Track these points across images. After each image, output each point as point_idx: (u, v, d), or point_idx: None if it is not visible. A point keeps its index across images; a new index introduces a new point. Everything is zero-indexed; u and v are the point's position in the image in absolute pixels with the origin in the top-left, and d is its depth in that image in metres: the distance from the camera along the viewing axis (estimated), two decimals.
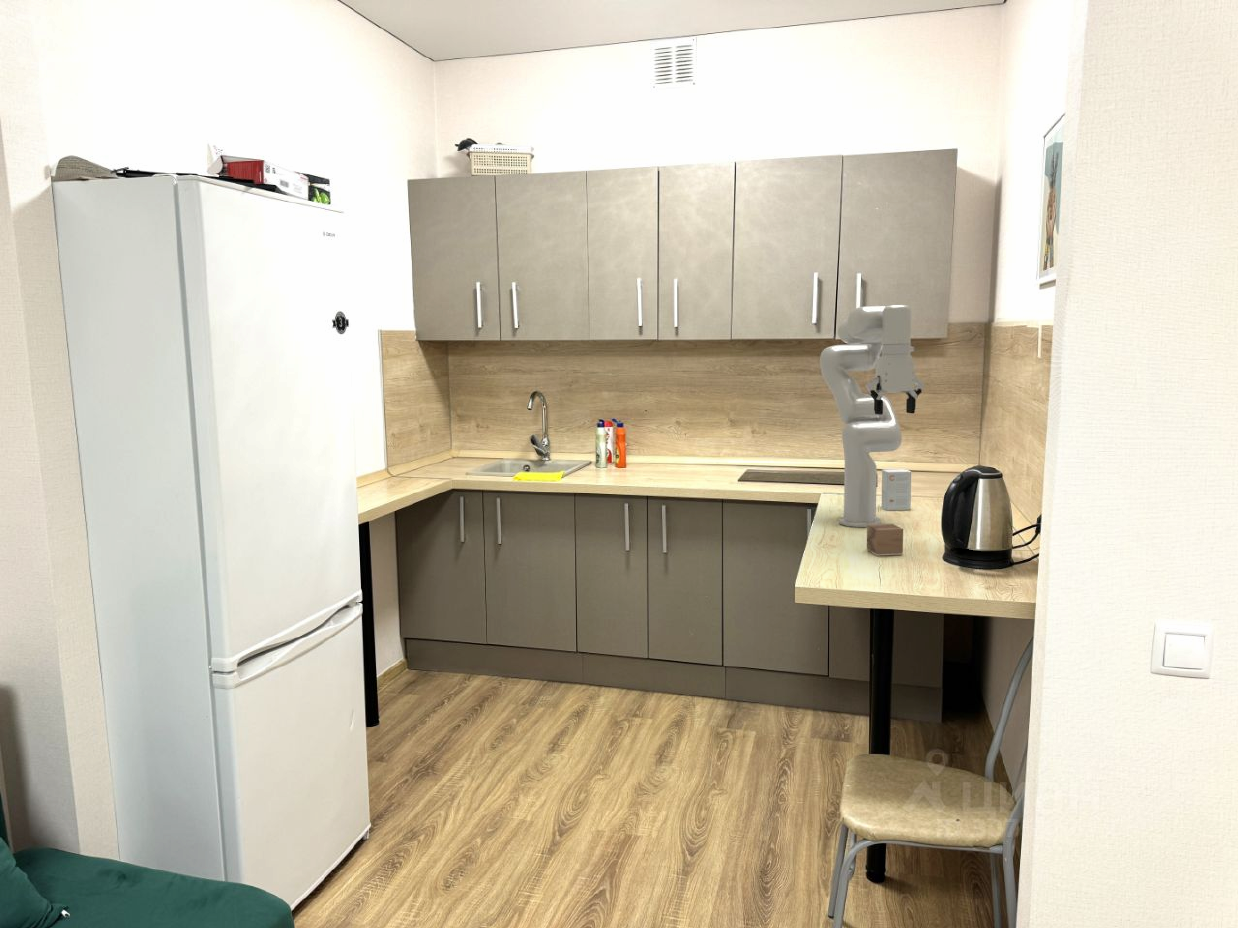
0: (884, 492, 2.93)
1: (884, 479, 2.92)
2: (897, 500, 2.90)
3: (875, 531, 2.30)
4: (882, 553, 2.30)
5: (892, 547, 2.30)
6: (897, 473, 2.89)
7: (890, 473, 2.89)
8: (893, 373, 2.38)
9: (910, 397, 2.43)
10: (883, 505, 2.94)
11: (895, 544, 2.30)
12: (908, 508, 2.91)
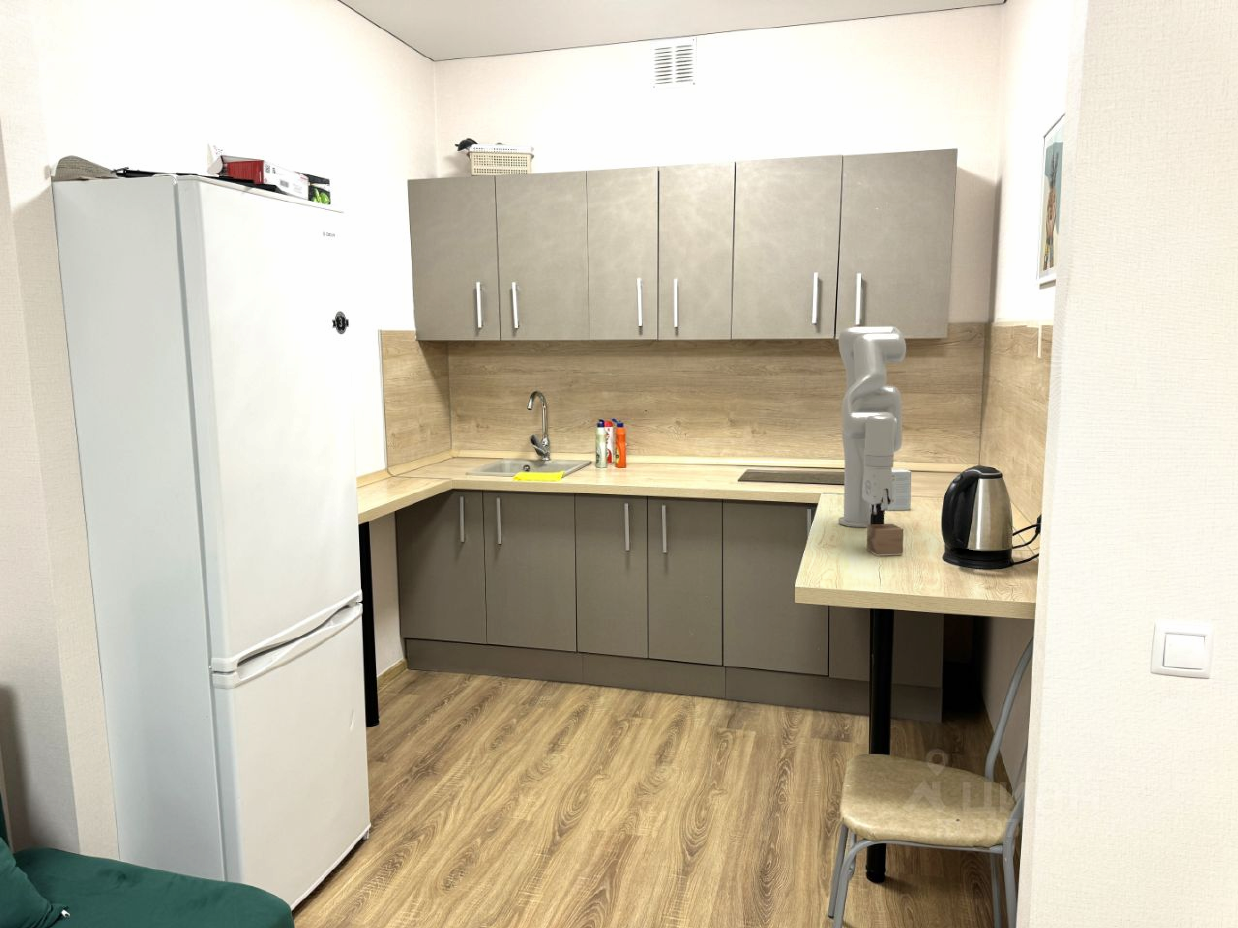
0: None
1: None
2: (897, 500, 2.90)
3: (875, 531, 2.30)
4: (882, 553, 2.30)
5: (892, 547, 2.30)
6: (897, 473, 2.89)
7: None
8: None
9: None
10: None
11: (895, 544, 2.30)
12: (908, 508, 2.91)
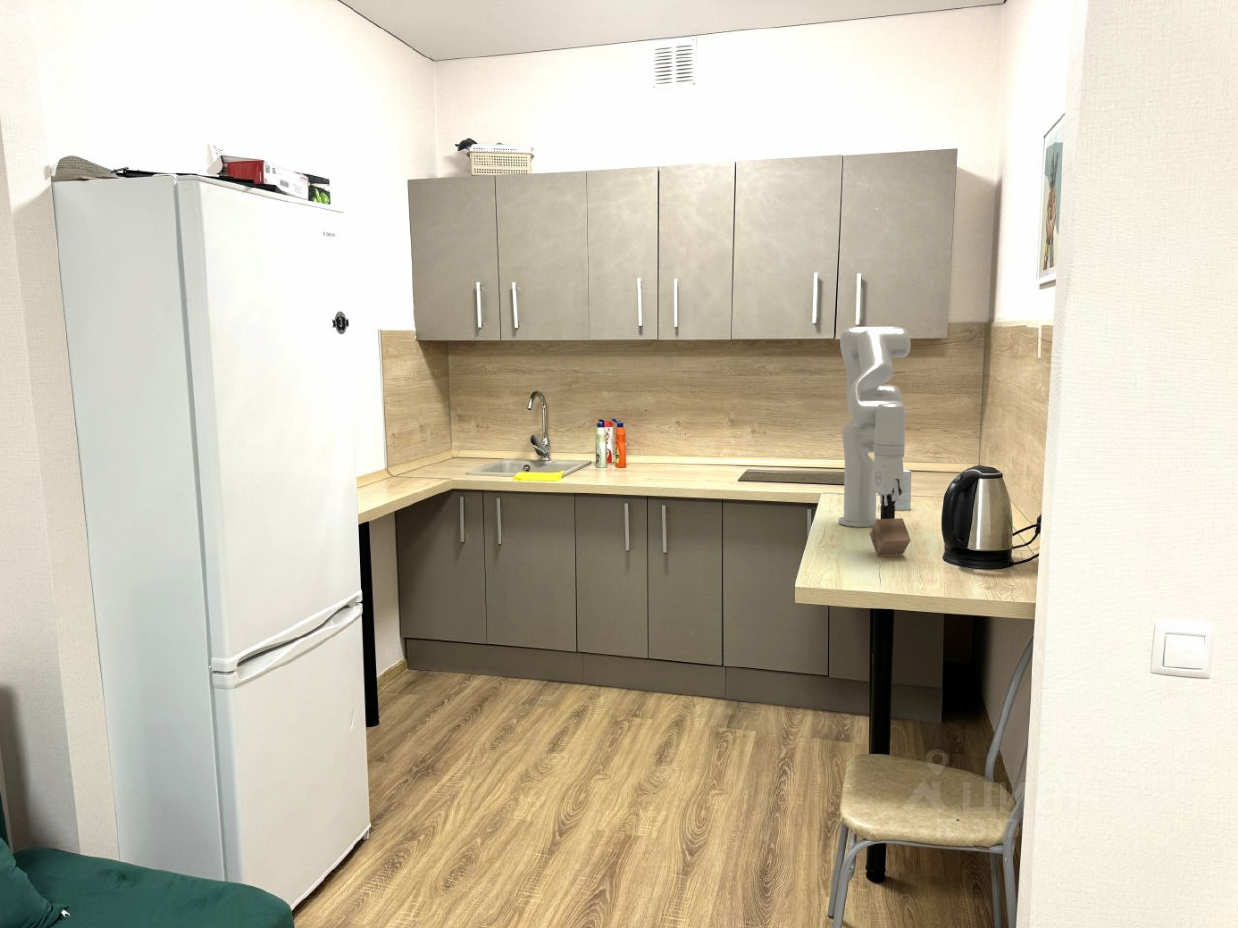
0: None
1: None
2: None
3: (882, 538, 2.26)
4: (882, 555, 2.30)
5: (894, 551, 2.29)
6: None
7: None
8: None
9: None
10: None
11: (898, 549, 2.28)
12: (908, 508, 2.91)
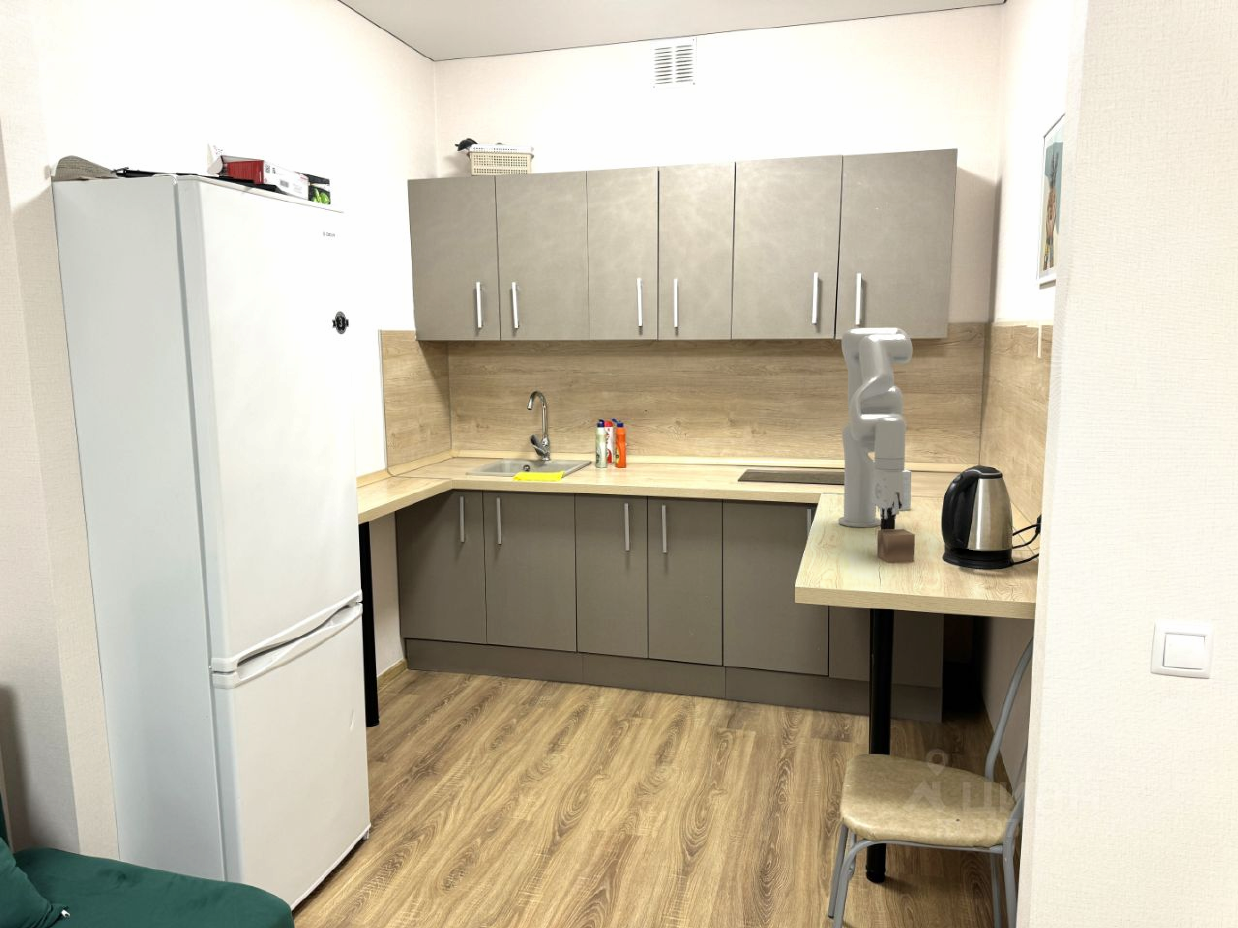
0: None
1: None
2: None
3: (886, 557, 2.24)
4: None
5: None
6: None
7: None
8: None
9: None
10: None
11: None
12: (908, 508, 2.91)
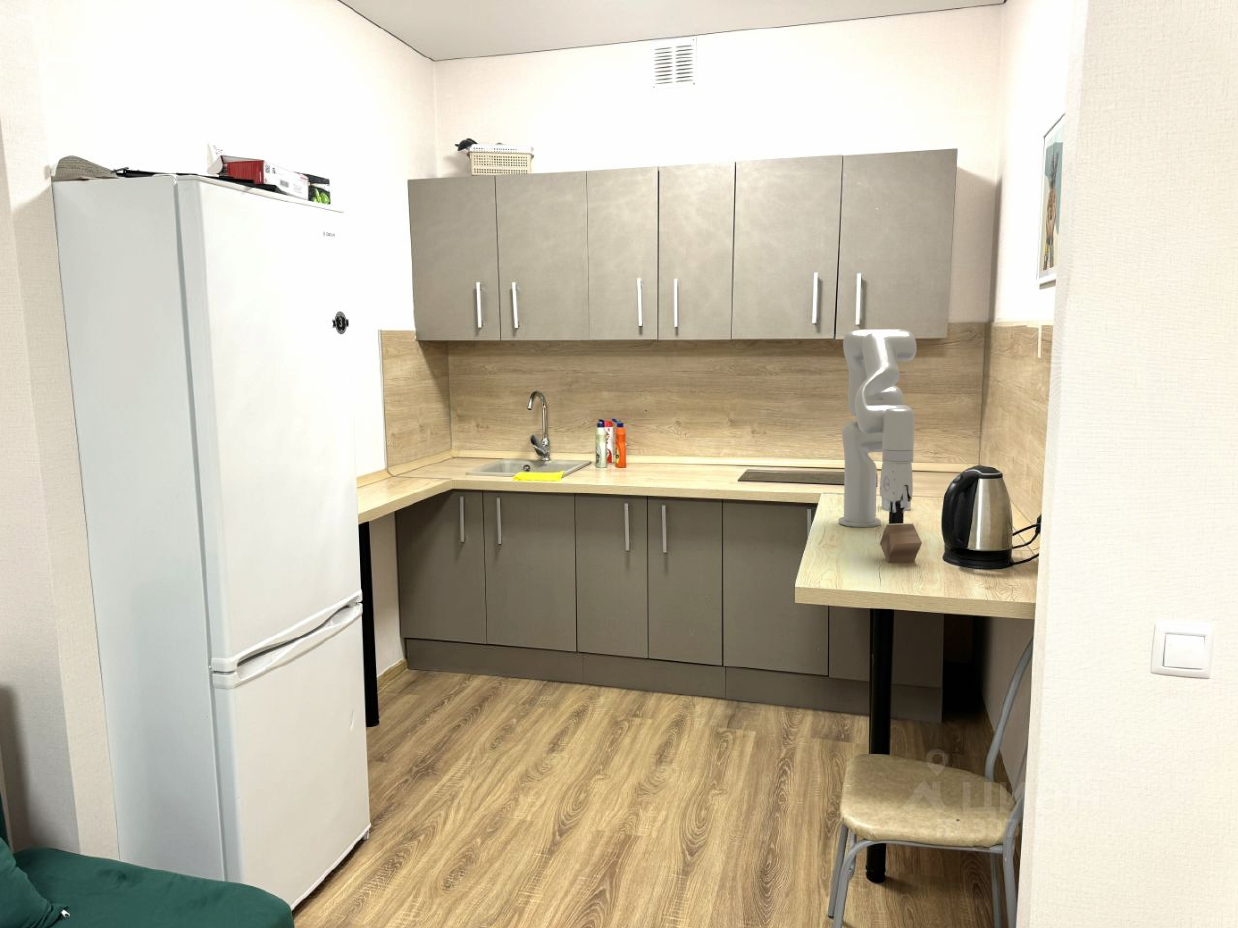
0: None
1: None
2: None
3: (888, 557, 2.23)
4: None
5: None
6: None
7: None
8: None
9: None
10: (883, 505, 2.94)
11: None
12: (908, 508, 2.91)
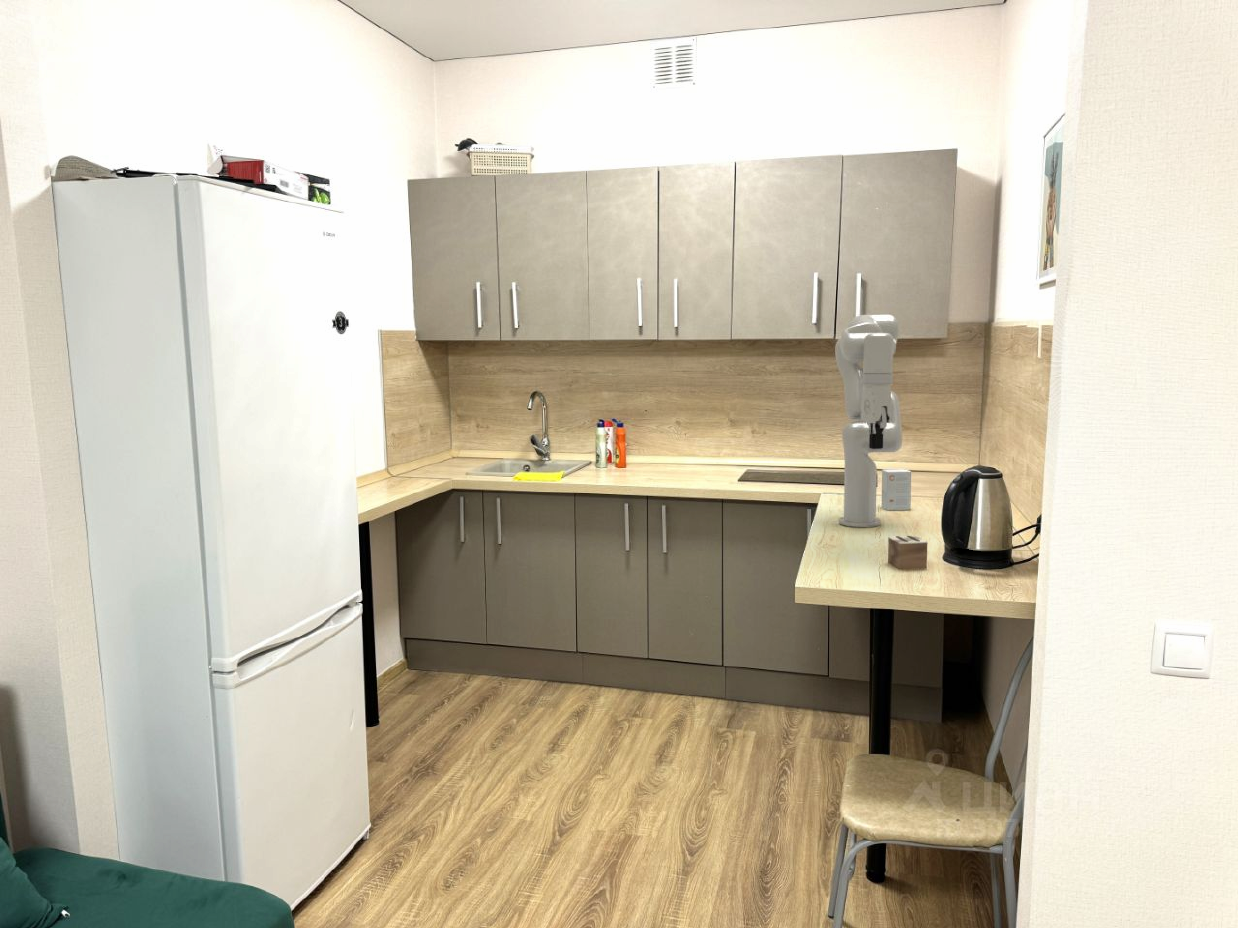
0: (884, 492, 2.93)
1: (884, 479, 2.92)
2: (897, 500, 2.90)
3: (889, 561, 2.22)
4: None
5: None
6: (897, 473, 2.89)
7: (890, 473, 2.89)
8: None
9: None
10: (883, 505, 2.94)
11: None
12: (908, 508, 2.91)
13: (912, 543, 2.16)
